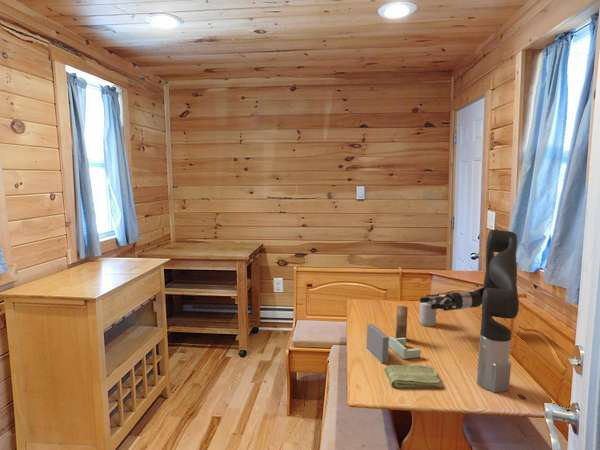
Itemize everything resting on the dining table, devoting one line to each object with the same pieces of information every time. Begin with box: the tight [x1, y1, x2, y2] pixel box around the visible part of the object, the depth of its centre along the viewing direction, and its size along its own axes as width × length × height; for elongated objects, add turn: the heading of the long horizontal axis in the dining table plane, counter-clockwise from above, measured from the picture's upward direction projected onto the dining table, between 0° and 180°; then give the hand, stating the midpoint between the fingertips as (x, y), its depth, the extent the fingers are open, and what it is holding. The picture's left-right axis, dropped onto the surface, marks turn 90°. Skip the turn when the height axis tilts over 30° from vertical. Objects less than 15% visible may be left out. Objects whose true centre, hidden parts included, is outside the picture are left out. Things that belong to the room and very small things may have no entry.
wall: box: [366, 323, 390, 364], centre depth 160 cm, size 14×2×10 cm, turn 15°
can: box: [418, 298, 438, 327], centre depth 194 cm, size 8×8×12 cm
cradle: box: [388, 335, 422, 360], centre depth 164 cm, size 12×7×4 cm, turn 15°
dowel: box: [395, 305, 409, 339], centre depth 176 cm, size 4×4×14 cm
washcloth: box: [383, 364, 443, 389], centre depth 143 cm, size 13×18×3 cm
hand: (425, 303), depth 178 cm, fingers open, 8 cm apart
